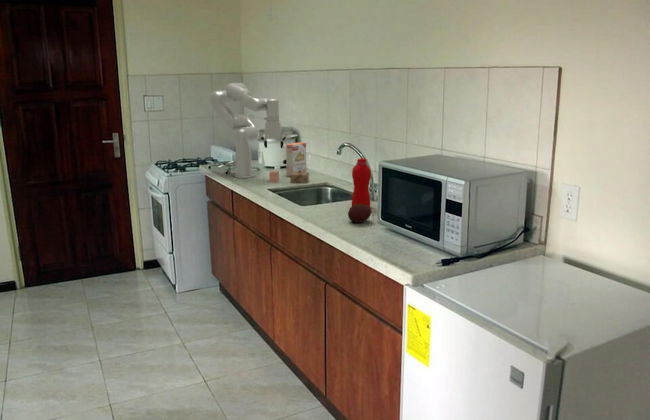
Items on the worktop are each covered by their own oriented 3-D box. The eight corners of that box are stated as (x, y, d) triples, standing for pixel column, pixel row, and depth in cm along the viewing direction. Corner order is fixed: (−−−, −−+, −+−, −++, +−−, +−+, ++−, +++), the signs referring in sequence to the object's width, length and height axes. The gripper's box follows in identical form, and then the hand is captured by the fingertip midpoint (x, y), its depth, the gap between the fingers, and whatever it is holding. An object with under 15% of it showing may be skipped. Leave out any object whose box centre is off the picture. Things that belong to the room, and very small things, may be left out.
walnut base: (290, 183, 324) (290, 175, 323) (292, 179, 334) (292, 171, 333) (306, 183, 323) (306, 175, 322) (308, 180, 333) (308, 172, 332)
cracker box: (293, 177, 342) (292, 144, 336) (286, 176, 345) (285, 144, 340) (306, 174, 352) (306, 142, 347) (299, 172, 356) (299, 141, 351)
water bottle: (348, 205, 270) (348, 157, 264) (369, 205, 270) (370, 157, 264) (348, 210, 261) (348, 160, 255) (370, 210, 261) (371, 160, 255)
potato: (359, 217, 249) (359, 200, 247) (377, 222, 241) (377, 204, 239) (341, 221, 242) (342, 204, 240) (359, 227, 234) (360, 208, 232)
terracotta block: (269, 181, 328) (269, 172, 327) (271, 180, 333) (270, 170, 332) (277, 181, 328) (277, 172, 326) (279, 180, 333) (278, 170, 331)
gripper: (257, 120, 318) (258, 148, 322) (286, 120, 316) (286, 148, 321) (260, 119, 325) (261, 146, 330) (288, 119, 324) (288, 147, 328)
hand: (273, 147), depth 325 cm, fingers open, 9 cm apart
